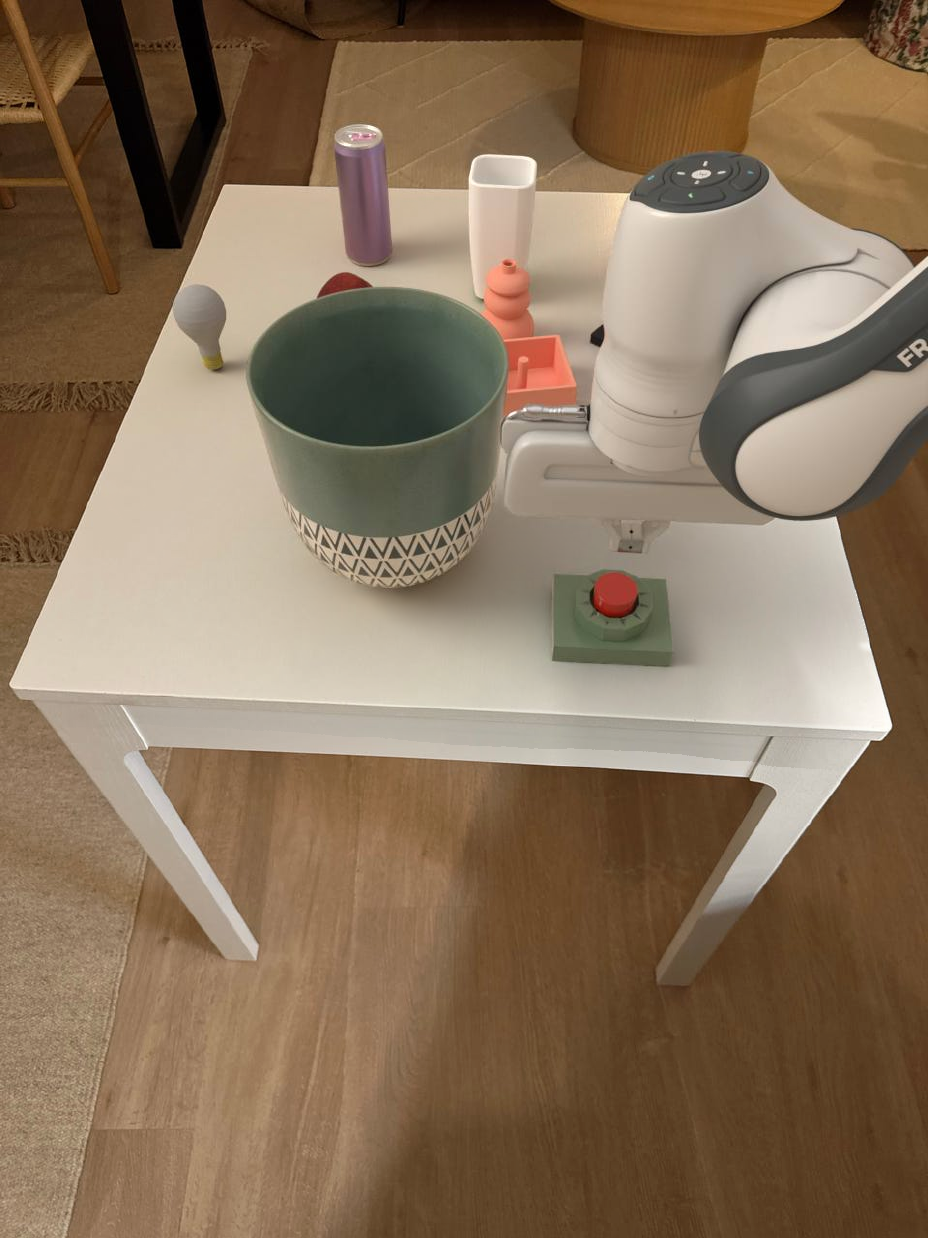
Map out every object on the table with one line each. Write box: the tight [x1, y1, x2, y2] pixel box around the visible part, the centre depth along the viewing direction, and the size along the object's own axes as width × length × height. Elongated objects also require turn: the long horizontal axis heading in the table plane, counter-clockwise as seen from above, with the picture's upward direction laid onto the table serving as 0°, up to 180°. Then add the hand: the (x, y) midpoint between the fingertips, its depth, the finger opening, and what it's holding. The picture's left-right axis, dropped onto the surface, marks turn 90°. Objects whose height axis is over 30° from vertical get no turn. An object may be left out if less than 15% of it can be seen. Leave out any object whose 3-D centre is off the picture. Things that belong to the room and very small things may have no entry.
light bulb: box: [172, 283, 227, 370], centre depth 98 cm, size 6×6×10 cm
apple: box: [315, 271, 374, 299], centre depth 102 cm, size 7×8×8 cm
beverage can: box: [333, 123, 393, 267], centre depth 110 cm, size 6×6×15 cm
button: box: [593, 572, 638, 617], centre depth 76 cm, size 4×4×2 cm
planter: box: [245, 286, 509, 589], centre depth 76 cm, size 20×20×21 cm
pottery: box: [480, 259, 578, 417], centre depth 97 cm, size 18×10×10 cm, turn 8°
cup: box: [468, 153, 538, 301], centre depth 105 cm, size 7×7×15 cm
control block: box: [551, 568, 674, 667], centre depth 78 cm, size 10×8×4 cm
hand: (628, 547), depth 71 cm, fingers closed
